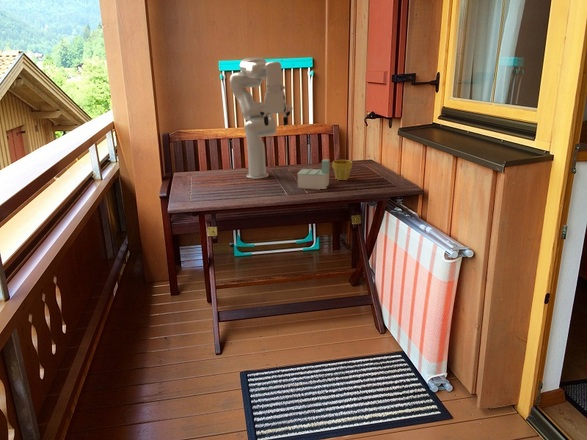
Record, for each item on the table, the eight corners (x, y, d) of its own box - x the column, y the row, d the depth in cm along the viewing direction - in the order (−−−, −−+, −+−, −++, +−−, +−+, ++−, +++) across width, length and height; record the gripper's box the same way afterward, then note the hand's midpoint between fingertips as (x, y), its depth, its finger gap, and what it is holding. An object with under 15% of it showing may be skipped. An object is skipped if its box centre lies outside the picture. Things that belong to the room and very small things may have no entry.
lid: (302, 172, 239) (301, 157, 236) (330, 173, 235) (330, 158, 233) (297, 177, 229) (296, 161, 227) (326, 178, 226) (326, 162, 223)
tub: (302, 183, 240) (302, 170, 238) (328, 184, 237) (328, 171, 235) (298, 188, 231) (297, 175, 229) (325, 189, 228) (325, 175, 226)
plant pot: (349, 182, 241) (349, 164, 237) (330, 181, 244) (330, 163, 241) (353, 177, 250) (353, 160, 247) (335, 176, 253) (335, 159, 250)
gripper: (293, 88, 220) (295, 124, 225) (260, 89, 225) (262, 124, 230) (289, 88, 213) (290, 126, 218) (254, 89, 218) (256, 126, 223)
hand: (276, 125), depth 224 cm, fingers open, 9 cm apart
